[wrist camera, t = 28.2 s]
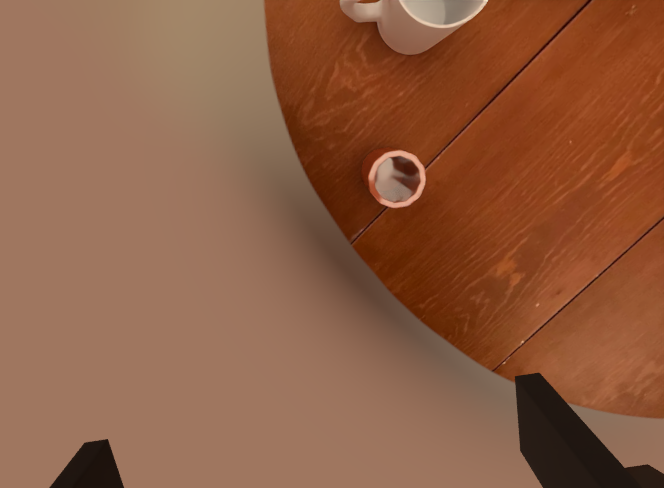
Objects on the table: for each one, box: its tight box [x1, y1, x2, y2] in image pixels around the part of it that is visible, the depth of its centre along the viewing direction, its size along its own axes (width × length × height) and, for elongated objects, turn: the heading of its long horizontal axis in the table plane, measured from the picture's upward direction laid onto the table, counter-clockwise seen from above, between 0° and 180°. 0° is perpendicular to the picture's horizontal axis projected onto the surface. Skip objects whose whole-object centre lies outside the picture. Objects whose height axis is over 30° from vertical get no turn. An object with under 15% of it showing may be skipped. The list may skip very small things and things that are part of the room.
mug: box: [340, 0, 488, 55], centre depth 34 cm, size 10×7×12 cm, turn 95°
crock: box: [361, 147, 426, 209], centre depth 40 cm, size 5×5×8 cm
